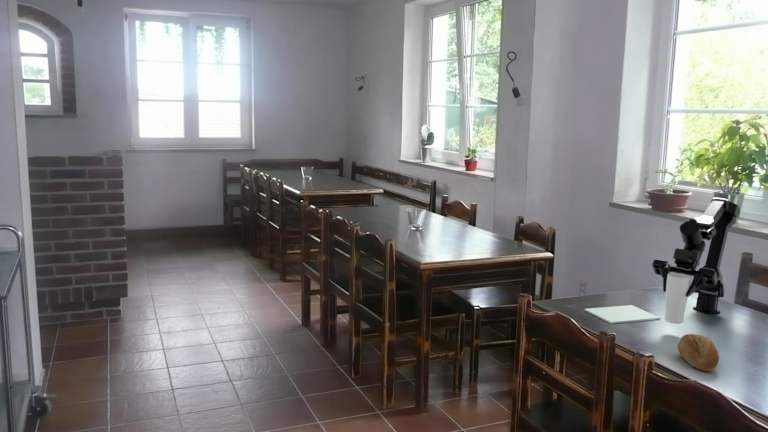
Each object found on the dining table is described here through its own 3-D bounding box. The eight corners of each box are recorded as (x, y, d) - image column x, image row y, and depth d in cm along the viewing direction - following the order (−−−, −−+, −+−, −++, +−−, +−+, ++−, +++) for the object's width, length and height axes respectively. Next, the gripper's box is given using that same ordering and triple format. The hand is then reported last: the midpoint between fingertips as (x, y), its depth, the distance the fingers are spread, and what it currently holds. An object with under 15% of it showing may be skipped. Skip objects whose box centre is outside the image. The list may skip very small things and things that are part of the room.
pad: (631, 306, 232) (631, 305, 232) (660, 319, 219) (660, 317, 219) (584, 310, 226) (584, 308, 226) (610, 323, 213) (610, 322, 213)
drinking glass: (681, 318, 209) (686, 273, 206) (688, 325, 202) (694, 279, 199) (659, 317, 209) (664, 272, 207) (665, 324, 203) (671, 277, 200)
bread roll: (688, 373, 175) (692, 345, 174) (669, 352, 190) (672, 326, 188) (725, 376, 174) (729, 347, 173) (703, 354, 189) (706, 328, 188)
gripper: (657, 234, 210) (640, 273, 204) (719, 244, 198) (703, 286, 192) (663, 254, 217) (647, 292, 211) (724, 265, 205) (708, 306, 199)
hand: (675, 293), depth 203 cm, fingers closed on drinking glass, 7 cm apart
